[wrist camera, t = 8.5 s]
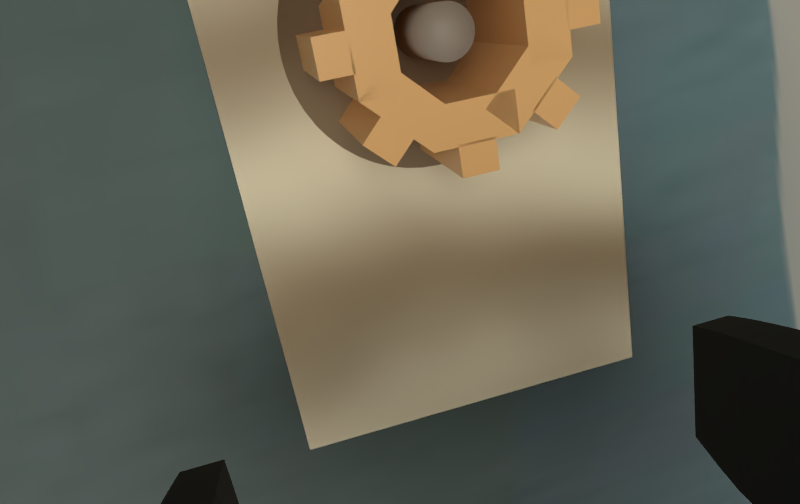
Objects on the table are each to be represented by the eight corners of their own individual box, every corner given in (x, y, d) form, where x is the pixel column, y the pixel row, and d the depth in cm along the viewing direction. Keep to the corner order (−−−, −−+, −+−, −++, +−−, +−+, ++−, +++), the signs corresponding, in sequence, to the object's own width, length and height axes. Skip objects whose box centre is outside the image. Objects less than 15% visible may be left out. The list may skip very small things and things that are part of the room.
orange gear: (573, -3, 17) (653, -9, 13) (443, 190, 17) (489, 227, 14) (385, -163, 15) (427, -217, 11) (249, 63, 15) (251, 72, 12)
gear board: (615, 342, 21) (749, 455, 16) (307, 430, 20) (333, 589, 14) (555, -474, 14) (758, -796, 9) (72, -432, 13) (-57, -786, 7)
